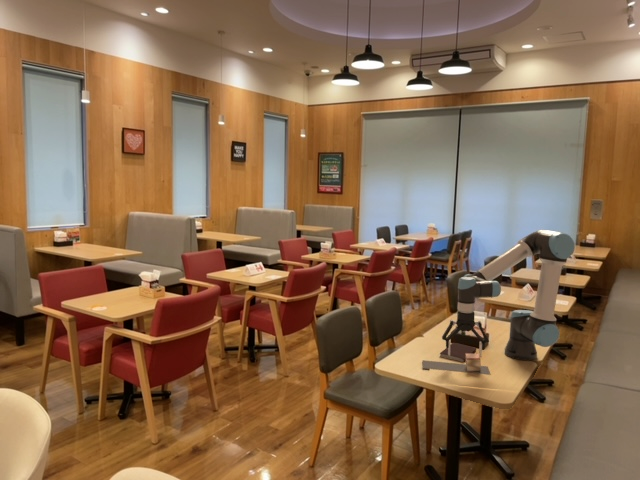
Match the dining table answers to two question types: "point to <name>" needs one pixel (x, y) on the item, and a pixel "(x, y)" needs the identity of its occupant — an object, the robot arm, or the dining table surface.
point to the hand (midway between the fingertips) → (464, 355)
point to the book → (458, 352)
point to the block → (473, 362)
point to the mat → (452, 367)
